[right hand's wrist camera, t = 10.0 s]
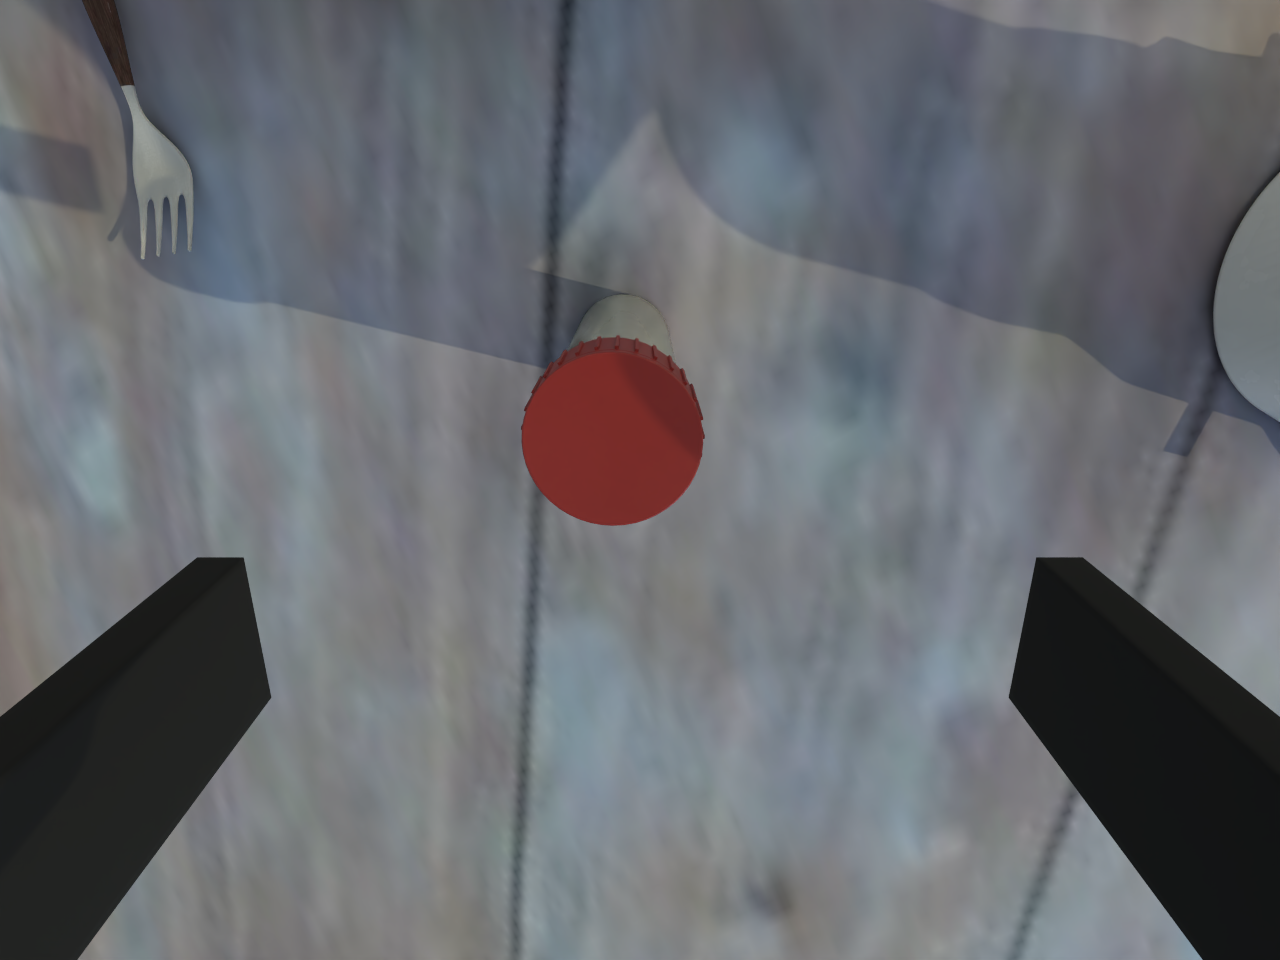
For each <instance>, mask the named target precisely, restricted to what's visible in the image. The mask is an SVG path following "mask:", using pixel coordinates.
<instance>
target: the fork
mask: <svg viewBox="0 0 1280 960" xmlns="http://www.w3.org/2000/svg"><path fill="white" fill-rule="evenodd" d="M82 1H83V4H84V6H85V9H86V11H87V13H88V15H89V18H90V20H91V22H92V25H93V27H94V29H95V31H96V33H97V36H98V38H99V40H100V42H101V44H102V46H103V49H104V51H105V53H106V55H107V57H108V59H109V62H110V64H111V66H112V68H113V70H114V72H115V75H116V77H117V79H118V81H119V83H120V86H121V88H122V90H123V92H124V95H125V97H126V99H127V102H128V105H129V107H130V110H131V114H132V120H133V154H132V163H133V176H134V183H135V189H136V194H137V199H138V205H139V215H140V233H141V259H143V260H144V259H145V248H146V234H147V210H148V202H149V200H152V201H153V203H154V209H155V222H156V245H157V251H156V254H157V256H158V257H160V251H161V239H162V220H163V201H164V198H165V197H167V198H168V199H169V203H170V213H171V228H172V253H173V254H175V253H176V243H177V228H178V201H179V196H180V195H181V194H182V195H183V196H184V198H185V205H186V217H187V234H188V251H189V252H191V249H192V234H193V177H192V172H191V169H190V166H189V164H188V162H187V161H186V159H185V157H184V156H183V154H182V153H181V152H180V151H179V150H178V148H177V147H176V146H175V145H174V144H173V143H172V142H171V141H170V140H169V139H167V138H166V137H165V136H164V135H163V134H162V133H161V132H160V131H159V130H158V129H157V128H156V127H155V126H154V125H153V124H152V123H151V122H150V121H149V120H148V119H147V117H146V116H145V114H144V113H143V111H142V109H141V106H140V104H139V101H138V97H137V94H136V90H135V85H134V81H133V77H132V73H131V68H130V64H129V59H128V55H127V50H126V46H125V42H124V37H123V33H122V29H121V25H120V21H119V17H118V13H117V9H116V6H115V2H114V0H82Z"/></svg>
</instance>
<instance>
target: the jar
mask: <svg viewBox="0 0 1280 960" xmlns="http://www.w3.org/2000/svg"><path fill="white" fill-rule="evenodd" d="M616 335H620V338H628V339H633V340H635V338H638V339H639V341H640V342H643V343H646V344H648V345H650V346H653V345H655V346H656V347H657V349H658V350H659V351H661V352H662V353H664V354H665V355H667V356H668V355H670V356H671V357H672V360H673V362H674V363H675V364H676V361H675V357H674V353H673V349H672V344H671V340H670V336H669V332H668V328H667V325H666V323H665V320H664V318H663V317H662V315H661V314H660V312H659V311H658V310H657V309H656V308H655V307H654V306H653V305H652V304H650V303H649V302H648V301H646V300H644V299H642V298H639V297H637V296H633V295H626V294H620V295H613V296H609V297H606V298H604V299H602V300H600V301H598V302H597V303H595V304H594V305H593V306H592V307H591V308H590V309H589V310H588V311H587V312H586V314H585V315H584V317H583V319H582V321H581V323H580V325H579V327H578V329H577V331H576V333H575V335H574V337H573V339H572V341H571V343H570V345H569V348H568V350H567V351H569V350H570V349H572V348H574V347H576V346H578V344H579V342H581V341H583V343H585V342H588V341H591V340H595V339H597V337H598V336H601V338H609V337H616Z"/></svg>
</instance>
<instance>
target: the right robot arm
mask: <svg viewBox="0 0 1280 960" xmlns="http://www.w3.org/2000/svg"><path fill="white" fill-rule="evenodd" d="M270 699H271V694H270V689H269V684H268V679H267V673H266V668H265V663H264V658H263V653H262V648H261V643H260V638H259V633H258V628H257V623H256V618H255V613H254V608H253V603H252V598H251V593H250V588H249V583H248V577H247V572H246V567H245V562H244V558H196V559H195V560H194V561H192V562H191V563H190V564H189V565H187V566H186V567H185V568H184V569H183V570H181V571H180V572H179V573H178V574H176V575H175V576H174V577H173V578H171V579H170V580H169V581H168V582H166V583H165V584H164V585H163V586H161V587H160V588H159V589H158V590H157V591H155V592H154V593H153V594H152V595H150V596H149V597H148V598H147V599H145V600H144V601H143V602H142V603H140V604H139V605H138V606H137V607H136V608H134V609H133V610H132V611H131V612H129V613H128V614H127V615H126V616H124V617H123V618H122V619H121V620H119V621H118V622H117V623H116V624H115V625H113V626H112V627H111V628H110V629H108V630H107V631H106V632H105V633H103V634H102V635H101V636H100V637H98V638H97V639H96V640H95V641H94V642H92V643H91V644H90V645H89V646H87V647H86V648H85V649H84V650H82V651H81V652H80V653H79V654H77V655H76V656H75V657H74V658H72V659H71V660H70V661H69V662H68V663H66V664H65V665H64V666H63V667H61V668H60V669H59V670H58V671H56V672H55V673H54V674H53V675H51V676H50V677H49V678H48V679H47V680H45V681H44V682H43V683H42V684H40V685H39V686H38V687H37V688H35V689H34V690H33V691H32V692H30V693H29V694H28V695H27V696H26V697H24V698H23V699H22V700H21V701H19V702H18V703H17V704H16V705H14V706H13V707H12V708H11V709H9V710H8V711H7V712H6V713H5V714H3V715H2V716H1V717H0V960H77V959H78V958H79V957H80V955H81V954H82V953H83V951H84V950H85V948H86V947H87V946H88V944H89V943H90V942H91V940H92V939H93V938H94V936H95V935H96V934H97V932H98V931H99V930H100V928H101V927H102V926H103V924H104V923H105V921H106V920H107V919H108V917H109V916H110V915H111V913H112V912H113V911H114V909H115V908H116V907H117V905H118V904H119V903H120V901H121V900H122V899H123V897H124V896H125V894H126V893H127V892H128V890H129V889H130V888H131V886H132V885H133V884H134V882H135V881H136V880H137V878H138V877H139V876H140V874H141V873H142V871H143V870H144V869H145V867H146V866H147V865H148V863H149V862H150V861H151V859H152V858H153V857H154V855H155V854H156V853H157V851H158V850H159V849H160V847H161V846H162V844H163V843H164V842H165V840H166V839H167V838H168V836H169V835H170V834H171V832H172V831H173V830H174V828H175V827H176V826H177V824H178V823H179V822H180V820H181V819H182V817H183V816H184V815H185V813H186V812H187V811H188V809H189V808H190V807H191V805H192V804H193V803H194V801H195V800H196V799H197V797H198V796H199V794H200V793H201V792H202V790H203V789H204V788H205V786H206V785H207V784H208V782H209V781H210V780H211V778H212V777H213V776H214V774H215V773H216V772H217V770H218V769H219V767H220V766H221V765H222V763H223V762H224V761H225V759H226V758H227V757H228V755H229V754H230V753H231V751H232V750H233V749H234V747H235V746H236V745H237V743H238V742H239V740H240V739H241V738H242V736H243V735H244V734H245V732H246V731H247V730H248V728H249V727H250V726H251V724H252V723H253V722H254V720H255V719H256V717H257V716H258V715H259V713H260V712H261V711H262V709H263V708H264V707H265V705H266V704H267V703H268V701H269V700H270ZM1009 699H1010V700H1011V701H1012V703H1013V704H1014V705H1015V707H1016V708H1017V709H1018V711H1019V712H1020V713H1021V715H1022V716H1023V717H1024V719H1025V720H1026V722H1027V723H1028V724H1029V726H1030V727H1031V728H1032V730H1033V731H1034V732H1035V734H1036V735H1037V736H1038V738H1039V739H1040V740H1041V742H1042V743H1043V745H1044V746H1045V747H1046V749H1047V750H1048V751H1049V753H1050V754H1051V755H1052V757H1053V758H1054V759H1055V761H1056V762H1057V763H1058V765H1059V766H1060V767H1061V769H1062V770H1063V772H1064V773H1065V774H1066V776H1067V777H1068V778H1069V780H1070V781H1071V782H1072V784H1073V785H1074V786H1075V788H1076V789H1077V790H1078V792H1079V793H1080V794H1081V796H1082V797H1083V799H1084V800H1085V801H1086V803H1087V804H1088V805H1089V807H1090V808H1091V809H1092V811H1093V812H1094V813H1095V815H1096V816H1097V817H1098V819H1099V820H1100V822H1101V823H1102V824H1103V826H1104V827H1105V828H1106V830H1107V831H1108V832H1109V834H1110V835H1111V836H1112V838H1113V839H1114V840H1115V842H1116V843H1117V844H1118V846H1119V847H1120V849H1121V850H1122V851H1123V853H1124V854H1125V855H1126V857H1127V858H1128V859H1129V861H1130V862H1131V863H1132V865H1133V866H1134V867H1135V869H1136V870H1137V871H1138V873H1139V874H1140V876H1141V877H1142V878H1143V880H1144V881H1145V882H1146V884H1147V885H1148V886H1149V888H1150V889H1151V890H1152V892H1153V893H1154V894H1155V896H1156V897H1157V899H1158V900H1159V901H1160V903H1161V904H1162V905H1163V907H1164V908H1165V909H1166V911H1167V912H1168V913H1169V915H1170V916H1171V917H1172V919H1173V920H1174V921H1175V923H1176V924H1177V926H1178V927H1179V928H1180V930H1181V931H1182V932H1183V934H1184V935H1185V936H1186V938H1187V939H1188V940H1189V942H1190V943H1191V944H1192V946H1193V947H1194V948H1195V950H1196V951H1197V953H1198V954H1199V955H1200V957H1201V958H1202V959H1203V960H1280V717H1279V716H1278V715H1277V714H1275V713H1274V712H1273V711H1272V710H1271V709H1269V708H1268V707H1267V706H1266V705H1264V704H1263V703H1262V702H1261V701H1259V700H1258V699H1257V698H1256V697H1254V696H1253V695H1252V694H1251V693H1250V692H1248V691H1247V690H1246V689H1245V688H1243V687H1242V686H1241V685H1240V684H1238V683H1237V682H1236V681H1235V680H1233V679H1232V678H1231V677H1230V676H1229V675H1227V674H1226V673H1225V672H1224V671H1222V670H1221V669H1220V668H1219V667H1217V666H1216V665H1215V664H1214V663H1212V662H1211V661H1210V660H1209V659H1208V658H1206V657H1205V656H1204V655H1203V654H1201V653H1200V652H1199V651H1198V650H1196V649H1195V648H1194V647H1193V646H1191V645H1190V644H1189V643H1188V642H1186V641H1185V640H1184V639H1183V638H1182V637H1180V636H1179V635H1178V634H1177V633H1175V632H1174V631H1173V630H1172V629H1170V628H1169V627H1168V626H1167V625H1165V624H1164V623H1163V622H1162V621H1161V620H1159V619H1158V618H1157V617H1156V616H1154V615H1153V614H1152V613H1151V612H1149V611H1148V610H1147V609H1146V608H1144V607H1143V606H1142V605H1141V604H1140V603H1138V602H1137V601H1136V600H1135V599H1133V598H1132V597H1131V596H1130V595H1128V594H1127V593H1126V592H1125V591H1123V590H1122V589H1121V588H1120V587H1119V586H1117V585H1116V584H1115V583H1114V582H1112V581H1111V580H1110V579H1109V578H1107V577H1106V576H1105V575H1104V574H1102V573H1101V572H1100V571H1099V570H1097V569H1096V568H1095V567H1094V566H1093V565H1091V564H1090V563H1089V562H1088V561H1086V560H1085V559H1084V558H1036V562H1035V567H1034V572H1033V577H1032V582H1031V588H1030V593H1029V598H1028V603H1027V608H1026V613H1025V618H1024V623H1023V628H1022V633H1021V638H1020V643H1019V648H1018V653H1017V658H1016V663H1015V668H1014V673H1013V679H1012V684H1011V689H1010V694H1009Z"/></svg>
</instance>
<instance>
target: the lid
mask: <svg viewBox="0 0 1280 960" xmlns="http://www.w3.org/2000/svg"><path fill="white" fill-rule="evenodd" d="M531 393H532V396H531V398H530V399H529V401H528V403H527V405H526V407H525V409H524V411H526V413H525V416H524V420H523V424H522V426H521V430H522V449H523V455H524V459H525V463H526V466H527V468H528V471H529V473H530V475H531V477H532V479H533V480H534V482H535V484H536V485H537V487H538V488H539V489H540V491H541V492H542V493H543V494H544V495H545V496H546V497H547V499H548V500H549V501H550V502H552V503H553V504H554V505H555V506H557V507H558V508H559V509H561V510H562V511H564V512H566V513H567V514H569V515H571V516H573V517H576V518H578V519H580V520H583V521H586V522H590V523H594V524H600V525H612V526H614V525H627V524H632V523H637V522H640V521H643V520H647V519H649V518H651V517H653V516H656V515H657V514H659V513H661V512H662V511H664V510H666V509H667V508H668V507H670V506H671V505H672V504H673V503H675V502H676V501H677V500H678V499H679V498H680V497H681V496H682V495H683V493H684V492H685V491H686V489H687V488H688V487H689V485H690V484H691V482H692V480H693V478H694V476H695V474H696V472H697V469H698V467H699V464H700V460H701V457H702V448H703V439H704V438H705V435H704V432H703V428H702V424H701V420H703V416H702V413H701V409H700V406H699V403H698V400H697V397H696V394H695V390H694V387H693V385H692V384H690V385H689V383H688V380H687V379H686V375H685V371H684V370H683V368H682V369H679V367H678V366H677V365H676V364H675V363H674V362H673V360H672V357H671V356H670V355H668V356H667V355H665V354H664V353H662V352H661V351H659V350H658V349H657V347H656V346H655V345H653V346H650V345H648V344H646V343H643V342H640V341H639V339H638V338H635V340H633V339H628V338H620V335H616V337H609V338H601V336H598V337H597V339H595V340H591V341H588V342H585V343H583V341H581V342H579V344H578V346H576V347H574V348H572V349H570V350H569V351H567V350H564V351H563V353H562V355H561V357H560V358H558V359H557V360H556V361H555V362H554V363H553V362H551V363H550V364H549V366H548V367H547V369H546V371H545V373H544V375H543V376H540V378H539V380H538V381H537V383H536V385H535V387H534V389H533V390H532V392H531Z"/></svg>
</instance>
